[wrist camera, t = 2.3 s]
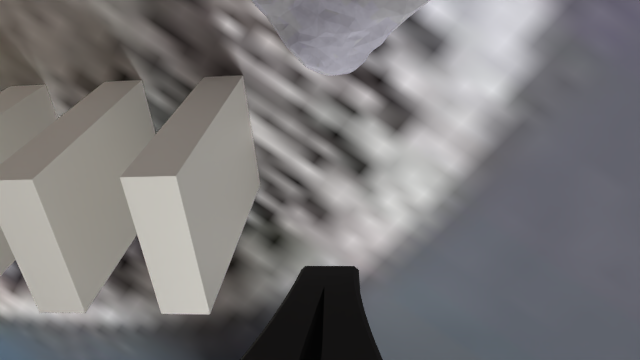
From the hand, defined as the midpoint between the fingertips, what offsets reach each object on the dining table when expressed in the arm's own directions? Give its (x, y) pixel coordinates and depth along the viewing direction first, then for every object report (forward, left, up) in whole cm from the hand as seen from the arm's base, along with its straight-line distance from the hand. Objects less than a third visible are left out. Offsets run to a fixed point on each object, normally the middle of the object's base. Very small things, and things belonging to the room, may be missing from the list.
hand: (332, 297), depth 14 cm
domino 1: (0, +5, -10) cm, 11 cm away
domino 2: (0, +9, -10) cm, 14 cm away
